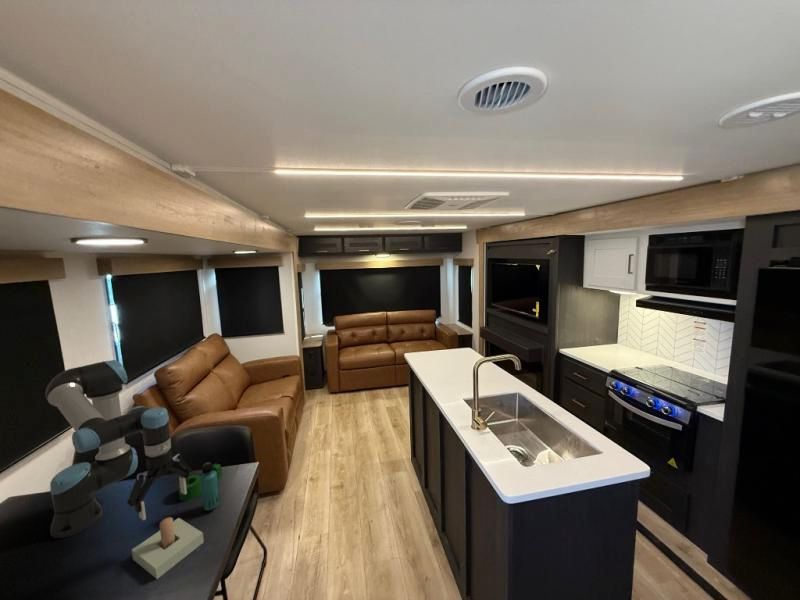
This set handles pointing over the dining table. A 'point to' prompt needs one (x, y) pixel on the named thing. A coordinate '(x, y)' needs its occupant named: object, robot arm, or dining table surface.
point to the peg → (167, 532)
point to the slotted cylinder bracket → (196, 484)
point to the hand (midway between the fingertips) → (164, 505)
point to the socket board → (167, 549)
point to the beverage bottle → (209, 487)
